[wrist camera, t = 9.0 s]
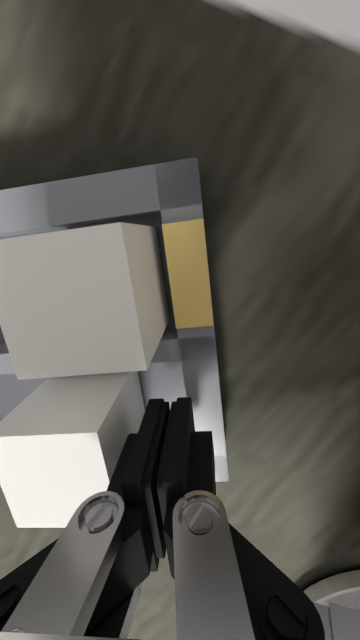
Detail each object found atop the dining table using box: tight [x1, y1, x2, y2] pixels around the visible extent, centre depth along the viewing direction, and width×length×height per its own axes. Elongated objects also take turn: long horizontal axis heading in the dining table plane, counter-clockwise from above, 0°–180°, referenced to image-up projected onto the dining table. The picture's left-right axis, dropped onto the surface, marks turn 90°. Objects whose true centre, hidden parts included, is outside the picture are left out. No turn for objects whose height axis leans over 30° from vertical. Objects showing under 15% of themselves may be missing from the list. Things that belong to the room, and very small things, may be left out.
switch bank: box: [0, 157, 229, 486], centre depth 14 cm, size 14×16×3 cm
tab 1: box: [0, 222, 170, 380], centre depth 10 cm, size 4×4×5 cm
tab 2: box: [0, 371, 145, 528], centre depth 12 cm, size 4×4×5 cm
